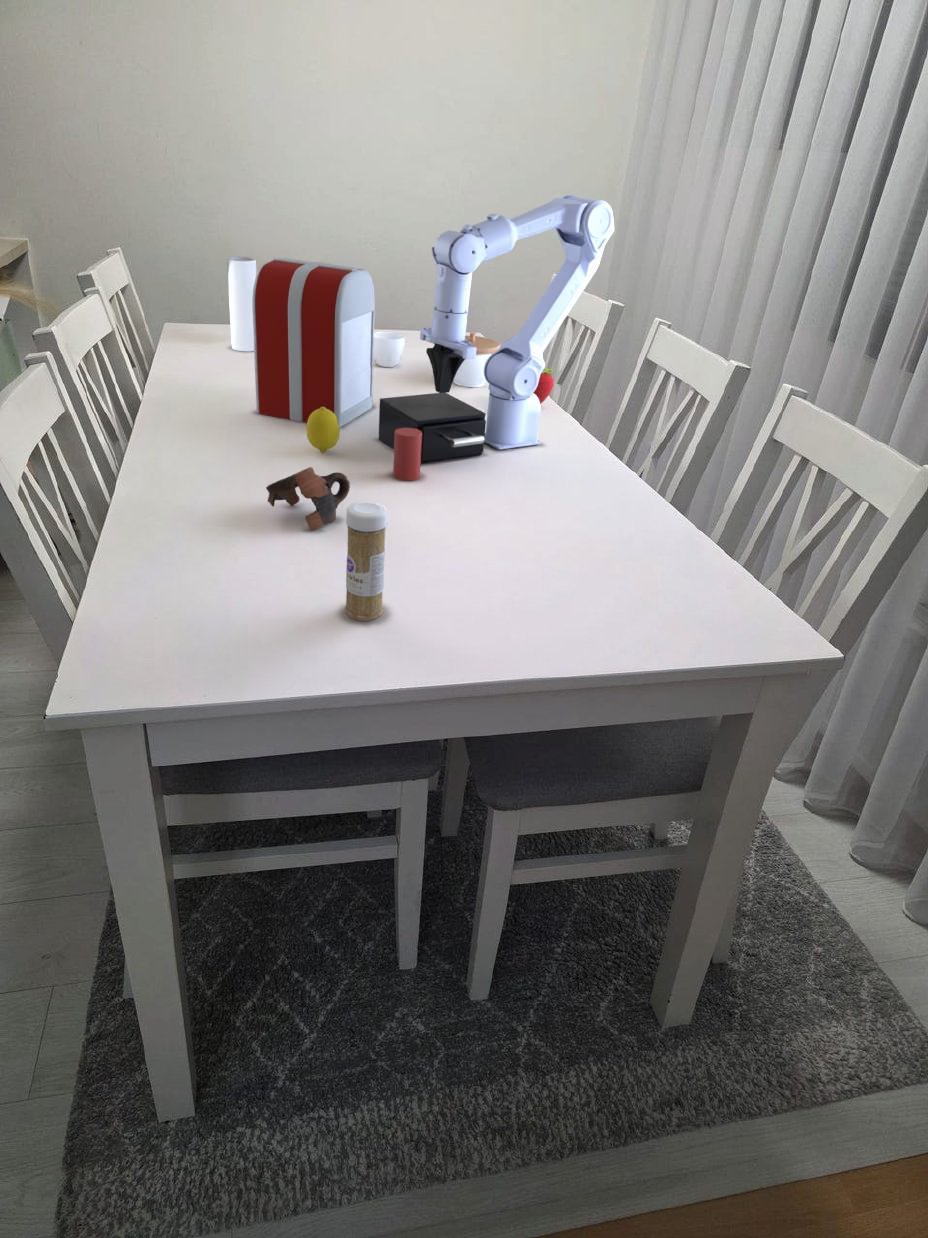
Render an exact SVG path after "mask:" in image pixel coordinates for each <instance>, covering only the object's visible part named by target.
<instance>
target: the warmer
mask: <svg viewBox="0 0 928 1238" xmlns="http://www.w3.org/2000/svg"><path fill="white" fill-rule="evenodd" d="M378 413H379V414H378V415H379V416H378V441H380V442H381V443H383V444H384V445H385V446H388V447H389V448H390V449H391V450H393V451H394V438H395V430H396V429H399V428H414V429H418V430H420V431H421V426H422V425H426V424H434V423H443V422H451V421H460V420H469V419H475V420H477V419H484V420H485V421H486V412H484V411H482V410H480V409H478V408H476V407H475V406H473V405H470V404H468V403H467V402H464V401H462V400H461V399H458V398H457V397H455V396H453V395H451V394H449V393H439V392H433V393H423V394H414V395H413V394H412V395H404V396H403V395H402V396H393V397H391V396H390V397H384V398H383V397H381V398H379V412H378ZM478 456H483V453H477V454H470V455H462V456H455V457H448V458H441V459H434V460H427V461H422V460H421V464H420V465H423V464H428V463H435V462H441V461H449V460H455V459H463V458H471V457H478Z"/></svg>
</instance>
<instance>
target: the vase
mask: <svg viewBox="0 0 928 1238" xmlns="http://www.w3.org/2000/svg"><path fill="white" fill-rule="evenodd" d="M226 265H227V267H226V268H227V285H228V303H229V304H228V305H229V321H230V323H229V324H230V338H231V339H230V340H231V341H230V342H231V349H232V350H234V351H237V352H254V335H253V310H252V297H253V287H254V282H255V278H256V274H257V272H258V271H257V259H256V258H254V257H250V256H249V257H248V256H228V257H227V258H226Z"/></svg>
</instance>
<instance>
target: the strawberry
mask: <svg viewBox="0 0 928 1238" xmlns="http://www.w3.org/2000/svg"><path fill="white" fill-rule="evenodd" d="M546 361H547V359H545V360H544V363H546ZM555 371H556V370H555V369H550V368H546V369H545V368H544V369H543V371H542V373H541V375H540V378H539V382H538V385H537V388H536V389H535V391H534V392H533V393H534V394H535V395H536V396H537V397H538V399H539V401H540V405H542V403H544V402H545V401H546V400H547V398H548V397H549V396H550V394H551V393H552V390H553V388H554V387H555V385H554V384H555V382H554V381H555V380H554V377H553V374H552V372H555Z"/></svg>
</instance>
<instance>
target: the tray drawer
mask: <svg viewBox="0 0 928 1238" xmlns="http://www.w3.org/2000/svg"><path fill="white" fill-rule="evenodd" d="M486 424H487V420H486V419H485V420H484V419H477V420H475V419H469V420H460V421H451V422H443V423H434V424H426V425H422V426H421V432H422V446H421V460H422V461H427V460H434V459H441V458H448V457H455V456H462V455H470V454H477V453H482V454H484V447H485V442H484V437H485V433H486Z"/></svg>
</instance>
